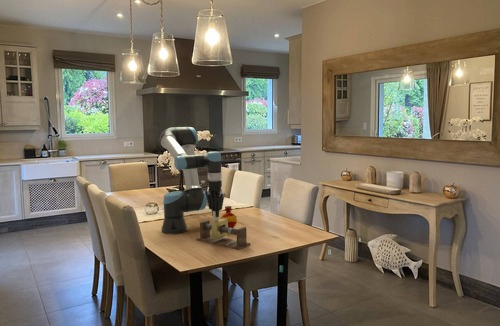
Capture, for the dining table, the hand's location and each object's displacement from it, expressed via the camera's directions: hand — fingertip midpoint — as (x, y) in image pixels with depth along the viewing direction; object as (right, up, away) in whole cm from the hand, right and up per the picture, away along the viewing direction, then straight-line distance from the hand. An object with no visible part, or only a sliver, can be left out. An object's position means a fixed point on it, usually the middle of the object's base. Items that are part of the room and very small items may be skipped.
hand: (215, 222), depth 222 cm
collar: (+2, -8, -1) cm, 8 cm away
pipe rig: (+4, -11, -1) cm, 12 cm away
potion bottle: (+6, -8, +20) cm, 23 cm away
